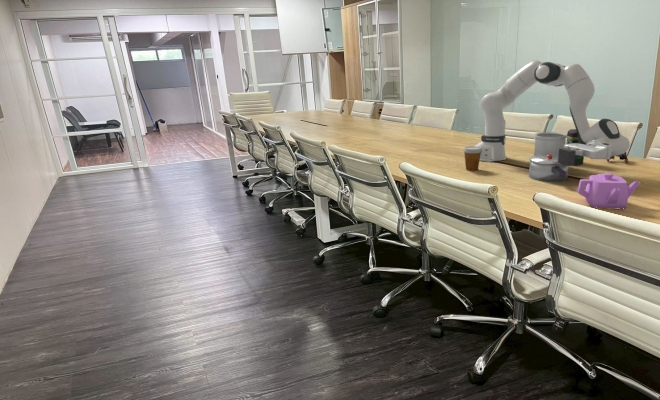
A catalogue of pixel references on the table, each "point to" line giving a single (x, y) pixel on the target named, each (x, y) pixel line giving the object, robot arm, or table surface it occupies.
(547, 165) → the pot
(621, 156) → the brown arched piece
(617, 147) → the robot arm
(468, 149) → the disposable coffee cup
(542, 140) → the utensil holder
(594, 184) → the teakettle
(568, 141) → the coffee jar
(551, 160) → the lid
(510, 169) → the table surface
